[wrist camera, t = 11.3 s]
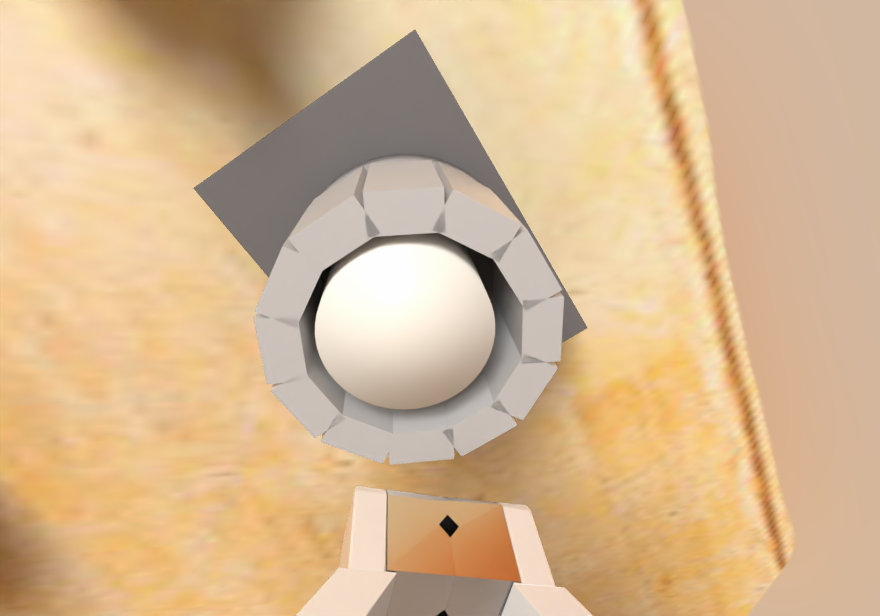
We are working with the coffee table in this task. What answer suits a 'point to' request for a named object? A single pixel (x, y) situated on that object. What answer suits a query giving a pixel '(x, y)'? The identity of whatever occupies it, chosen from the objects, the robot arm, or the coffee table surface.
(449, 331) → the white egg
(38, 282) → the coffee table surface
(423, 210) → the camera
